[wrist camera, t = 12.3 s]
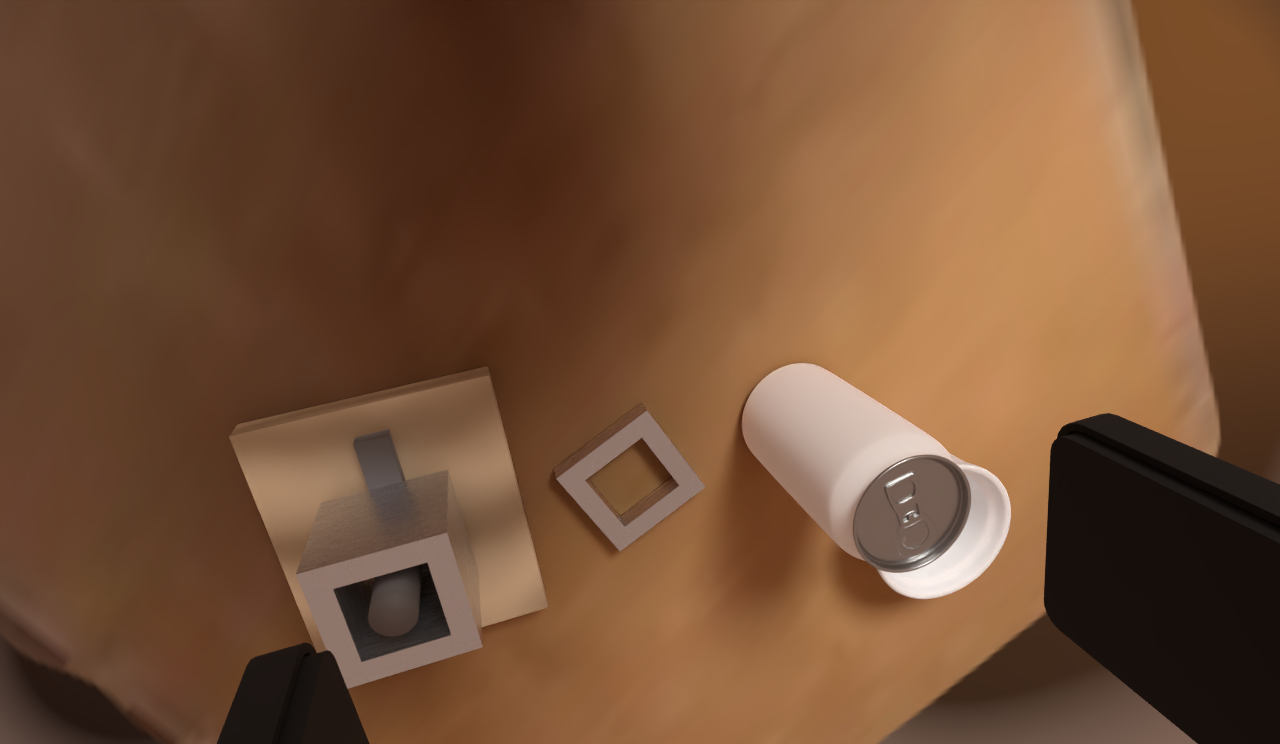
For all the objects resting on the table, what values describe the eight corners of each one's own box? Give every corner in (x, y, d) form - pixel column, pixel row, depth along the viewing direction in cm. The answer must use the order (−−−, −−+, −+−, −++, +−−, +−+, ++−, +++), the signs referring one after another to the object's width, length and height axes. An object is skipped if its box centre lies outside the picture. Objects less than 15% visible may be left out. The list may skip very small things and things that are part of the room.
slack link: (553, 469, 39) (556, 478, 38) (641, 402, 39) (647, 410, 38) (615, 540, 41) (619, 551, 40) (698, 477, 41) (705, 487, 40)
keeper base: (237, 424, 34) (173, 511, 26) (487, 366, 36) (497, 430, 28) (329, 654, 39) (299, 785, 31) (545, 591, 41) (567, 699, 33)
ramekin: (873, 584, 47) (911, 626, 43) (816, 491, 44) (852, 527, 40) (981, 507, 47) (1030, 542, 43) (934, 408, 44) (982, 435, 40)
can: (758, 482, 42) (866, 606, 31) (723, 390, 40) (827, 489, 29) (853, 435, 43) (992, 539, 32) (825, 341, 40) (964, 420, 29)
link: (321, 502, 34) (295, 574, 28) (447, 469, 35) (447, 532, 29) (359, 604, 36) (343, 689, 31) (478, 570, 37) (482, 647, 32)
